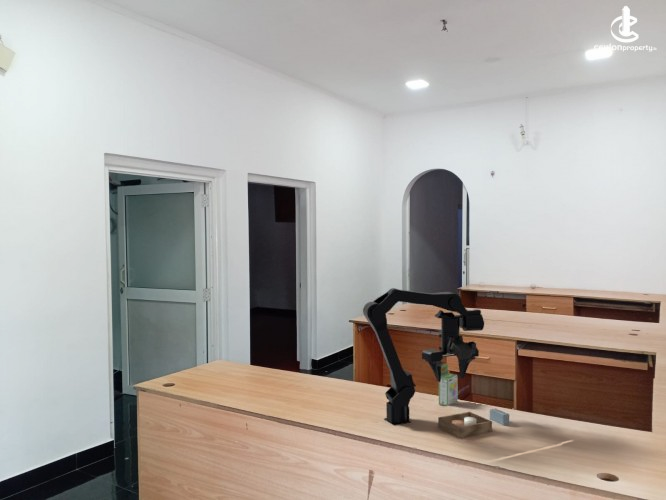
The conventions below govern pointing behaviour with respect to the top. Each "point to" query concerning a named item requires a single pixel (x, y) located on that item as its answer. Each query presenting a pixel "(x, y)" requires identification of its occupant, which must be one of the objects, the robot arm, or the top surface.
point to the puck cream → (469, 421)
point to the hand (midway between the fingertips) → (450, 380)
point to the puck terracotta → (458, 423)
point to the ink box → (448, 388)
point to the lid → (499, 416)
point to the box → (464, 431)
